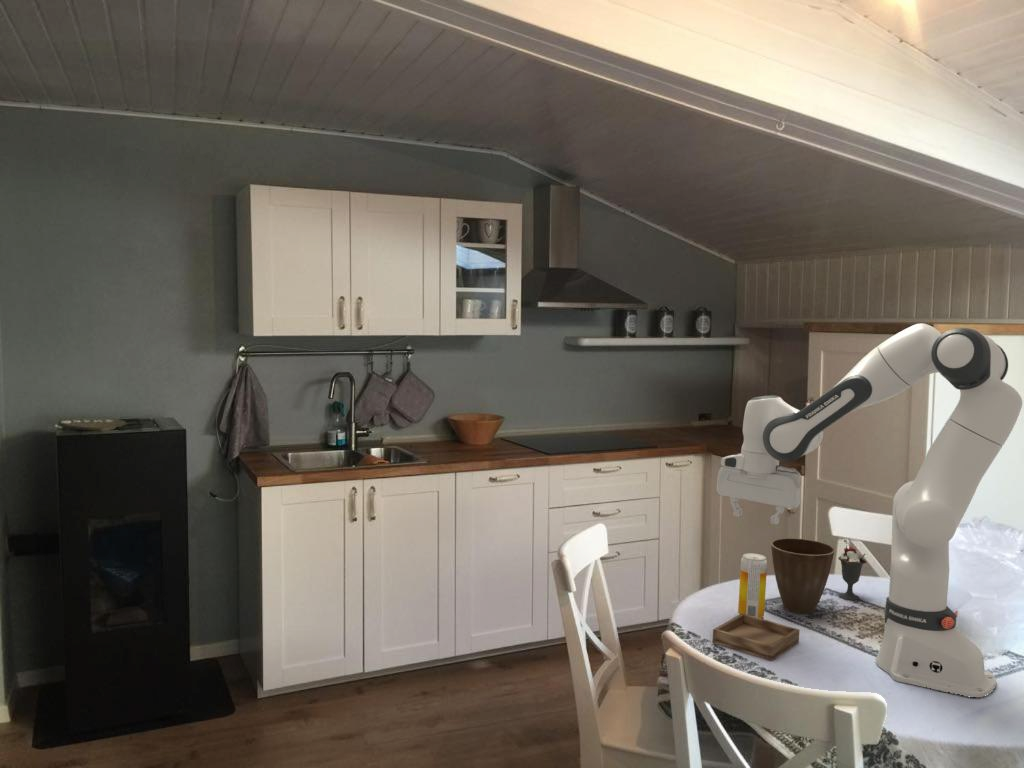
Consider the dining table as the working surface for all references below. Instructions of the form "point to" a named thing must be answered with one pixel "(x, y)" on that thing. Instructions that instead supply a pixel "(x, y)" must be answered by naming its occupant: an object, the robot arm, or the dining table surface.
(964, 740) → the dining table surface
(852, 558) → the sundae
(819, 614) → the dining table surface
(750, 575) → the beer can
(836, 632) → the dining table surface
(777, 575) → the plant pot
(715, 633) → the walnut tray
